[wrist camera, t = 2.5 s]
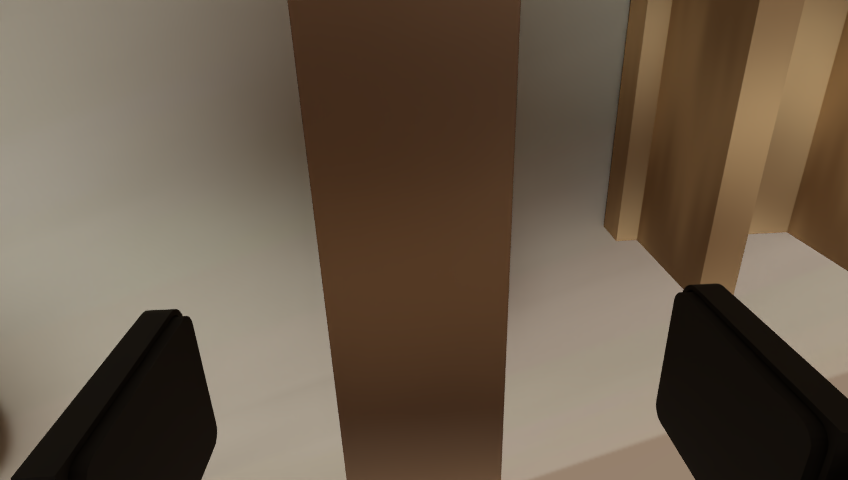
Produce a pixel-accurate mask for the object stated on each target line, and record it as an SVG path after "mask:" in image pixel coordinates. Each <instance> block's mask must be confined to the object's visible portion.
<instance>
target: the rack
mask: <svg viewBox="0 0 848 480" xmlns="http://www.w3.org/2000/svg"><path fill="white" fill-rule="evenodd" d="M604 227H605V228H606V229H607V231H608V232H609V233H610V234H611V235H612V236H613V238H614V239H615V240H616V241H624V240H637V241H638V242H639V243H640V244H641V245H642V246H643V247H644V248H645V249H646V250H647V251H648V252H649V253H650V254H651V255H652V256H653V257H654V259H655V260H656V261H657V262H658V263H659V264H660V265H661V266H662V267H663V268H664V269H665V270H666V271H667V272H668V273H669V274H670V275H671V276H672V278H673V279H674V280H675V281H676V282H677V283H678V284H679V285H680V286H681V287H682V288H683V289H684V288H685V287H686V286H687V285H694V284H714V283H717V284H721V285H722V286H724V287H725V288H726V289H727V290H728V291H729V292H730V293H732V294H734V290H735V286H736V282H737V278H738V274H739V270H740V266H741V262H742V257H743V253H744V249H745V245H746V241H747V237H748V234H758V233H777V232H788V233H789V234H791V235H792V236H794V237H795V238H797V239H799V240H800V241H802V242H803V243H805V244H806V245H808V246H810V247H811V248H813V249H814V250H816V251H817V252H819V253H820V254H822V255H824V256H825V257H827V258H828V259H830V260H831V261H833V262H835V263H836V264H838V265H839V266H841V267H842V268H844V269H846V270H847V271H848V0H631V4H630V12H629V21H628V29H627V38H626V46H625V54H624V63H623V71H622V79H621V88H620V96H619V104H618V113H617V121H616V129H615V138H614V146H613V155H612V163H611V171H610V180H609V188H608V196H607V205H606V213H605V221H604Z"/></svg>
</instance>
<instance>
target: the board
mask: <svg viewBox="0 0 848 480" xmlns="http://www.w3.org/2000/svg"><path fill="white" fill-rule="evenodd" d="M520 7H521V0H288V8H289V16H290V24H291V32H292V40H293V48H294V57H295V65H296V73H297V81H298V89H299V97H300V105H301V113H302V121H303V129H304V138H305V146H306V154H307V162H308V170H309V178H310V186H311V194H312V202H313V210H314V218H315V227H316V235H317V243H318V251H319V259H320V267H321V275H322V283H323V291H324V299H325V308H326V316H327V324H328V332H329V340H330V348H331V356H332V364H333V372H334V380H335V388H336V397H337V405H338V413H339V421H340V429H341V437H342V445H343V453H344V461H345V469H346V478H347V480H501V464H502V440H503V416H504V392H505V368H506V344H507V320H508V296H509V272H510V248H511V224H512V200H513V176H514V151H515V127H516V103H517V79H518V55H519V31H520Z"/></svg>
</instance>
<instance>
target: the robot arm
mask: <svg viewBox="0 0 848 480" xmlns="http://www.w3.org/2000/svg"><path fill="white" fill-rule="evenodd" d="M656 410H657V415H658V418H659V420H660V422H661V424H662V426H663V427H664V429H665V431H666V432H667V434H668V436H669V437H670V439H671V440H672V442H673V444H674V445H675V447H676V449H677V450H678V452H679V454H680V455H681V457H682V459H683V460H684V462H685V463H686V465H687V467H688V468H689V470H690V471H691V473H692V475H693V476H694V478H695V480H848V398H846V397H845V396H844V395H843V394H842V393H841V392H840V391H839V390H837V388H835V387H834V386H833V385H832V384H831V383H830V382H829V381H828V380H827V379H826V378H824V377H823V376H822V375H821V374H820V373H819V372H818V371H817V370H816V369H814V368H813V367H812V366H811V365H810V364H809V363H808V362H807V361H806V360H805V359H803V358H802V357H801V356H800V355H799V354H798V353H797V352H796V351H795V350H793V349H792V348H791V347H790V346H789V345H788V344H787V343H786V342H785V341H784V340H782V339H781V338H780V337H779V336H778V335H777V334H776V333H775V332H774V331H772V330H771V329H770V328H769V327H768V326H767V325H766V324H765V323H764V322H762V321H761V320H760V319H759V318H758V317H757V316H756V315H755V314H754V313H753V312H751V311H750V310H749V309H748V308H747V307H746V306H745V305H744V304H743V303H741V302H740V301H739V300H738V299H737V298H736V297H735V296H734V295H733V294H732V293H730V292H729V291H728V290H727V289H726V288H725V287H724V286H722V285H721V284H717V283H714V284H694V285H687V286H686V287H685V288H684V290H683V292H680V293H678V294H677V295H676V296H675V299H674V304H673V310H672V315H671V321H670V327H669V332H668V338H667V344H666V349H665V355H664V361H663V366H662V372H661V378H660V383H659V389H658V395H657V400H656ZM216 439H217V426H216V421H215V417H214V412H213V408H212V404H211V400H210V395H209V391H208V387H207V383H206V378H205V374H204V370H203V366H202V361H201V357H200V353H199V349H198V344H197V340H196V336H195V332H194V327H193V323H192V320H191V319H190V317H188V316H182V314H181V312H180V311H179V310H177V309H169V310H148V311H145V312H143V313H142V314H141V316H140V317H139V318H138V319H137V321H136V322H135V323H134V324H133V326H132V327H131V328H130V329H129V331H128V332H127V333H126V334H125V336H124V337H123V338H122V339H121V341H120V342H119V343H118V344H117V346H116V347H115V348H114V349H113V351H112V352H111V353H110V354H109V356H108V357H107V358H106V359H105V361H104V362H103V363H102V365H101V366H100V367H99V368H98V370H97V371H96V372H95V373H94V375H93V376H92V377H91V378H90V380H89V381H88V382H87V383H86V385H85V386H84V387H83V388H82V390H81V391H80V392H79V393H78V395H77V396H76V397H75V398H74V400H73V401H72V402H71V403H70V405H69V406H68V407H67V408H66V410H65V411H64V412H63V413H62V415H61V416H60V417H59V418H58V420H57V421H56V422H55V423H54V425H53V426H52V427H51V428H50V430H49V431H48V432H47V433H46V435H45V436H44V437H43V439H42V440H41V441H40V442H39V444H38V445H37V446H36V447H35V449H34V450H33V451H32V452H31V454H30V455H29V456H28V457H27V459H26V460H25V461H24V462H23V464H22V465H21V466H20V467H19V469H18V470H17V471H16V472H15V474H14V475H13V476H12V477H11V480H201V479H202V476H203V474H204V472H205V469H206V467H207V464H208V462H209V459H210V457H211V454H212V452H213V449H214V447H215V444H216Z"/></svg>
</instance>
